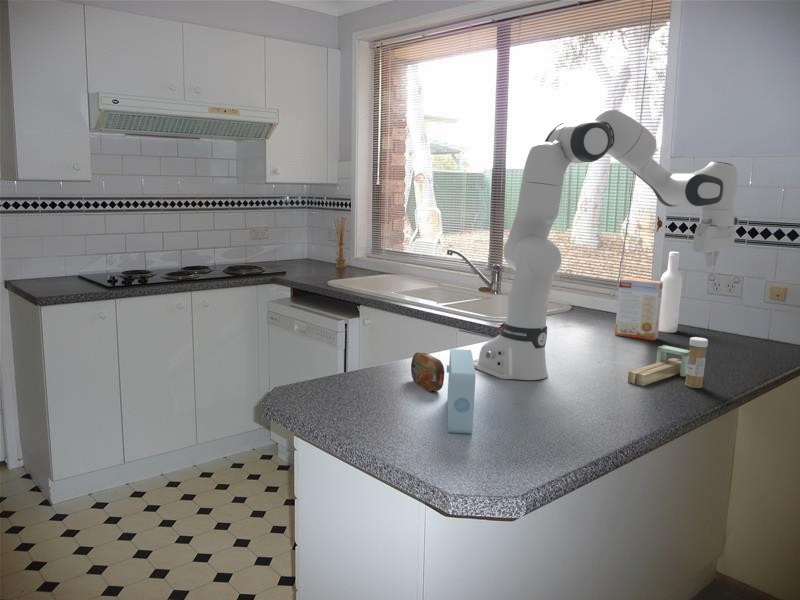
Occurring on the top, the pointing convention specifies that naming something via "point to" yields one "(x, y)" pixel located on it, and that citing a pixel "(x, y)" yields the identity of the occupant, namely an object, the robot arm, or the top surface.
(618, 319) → the cracker box
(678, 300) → the bottle
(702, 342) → the sprinkles bottle
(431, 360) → the tin
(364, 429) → the top surface
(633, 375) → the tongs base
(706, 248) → the robot arm
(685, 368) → the sleeve
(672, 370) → the tong arm
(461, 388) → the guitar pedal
